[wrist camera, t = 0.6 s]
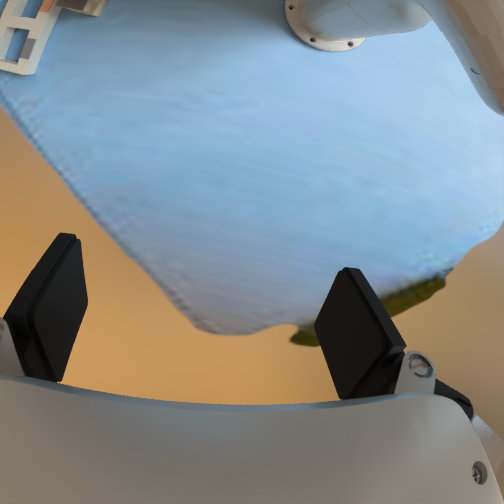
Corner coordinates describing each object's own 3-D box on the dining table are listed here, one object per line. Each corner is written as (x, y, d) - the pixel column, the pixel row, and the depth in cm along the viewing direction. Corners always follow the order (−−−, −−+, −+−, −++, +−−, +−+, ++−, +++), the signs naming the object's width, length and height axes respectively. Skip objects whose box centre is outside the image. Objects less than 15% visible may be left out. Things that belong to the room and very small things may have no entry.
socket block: (30, -21, 19) (19, -24, 16) (75, -17, 22) (66, -22, 20) (-6, 64, 25) (-18, 65, 23) (34, 73, 29) (23, 75, 26)
